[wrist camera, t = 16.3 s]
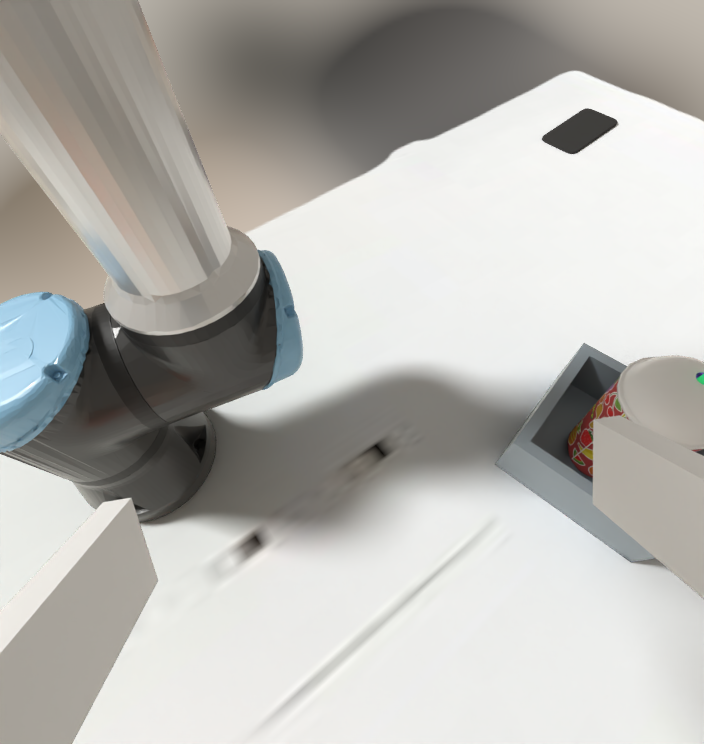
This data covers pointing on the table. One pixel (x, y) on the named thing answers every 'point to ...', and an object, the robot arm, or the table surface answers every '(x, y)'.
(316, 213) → the table surface
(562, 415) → the tray
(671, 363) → the smoothie
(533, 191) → the table surface
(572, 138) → the phone
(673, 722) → the table surface
